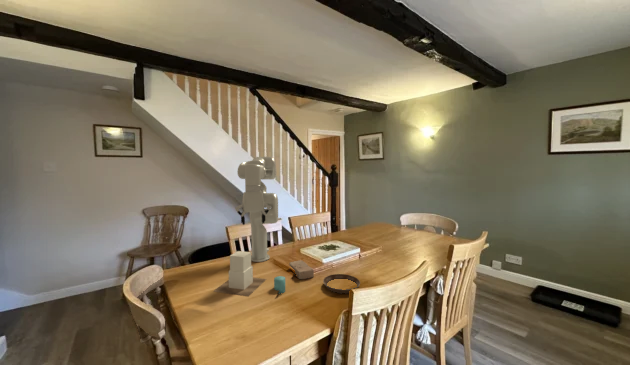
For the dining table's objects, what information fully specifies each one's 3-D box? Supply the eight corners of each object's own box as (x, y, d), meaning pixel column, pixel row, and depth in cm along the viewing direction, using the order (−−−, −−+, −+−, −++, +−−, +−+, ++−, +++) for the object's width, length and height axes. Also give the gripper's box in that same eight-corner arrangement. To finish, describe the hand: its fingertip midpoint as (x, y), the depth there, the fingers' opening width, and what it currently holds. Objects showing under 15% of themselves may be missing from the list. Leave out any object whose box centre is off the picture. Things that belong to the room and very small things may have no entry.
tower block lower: (238, 280, 128) (238, 264, 127) (252, 282, 125) (252, 266, 125) (228, 287, 120) (228, 270, 119) (244, 289, 118) (243, 272, 117)
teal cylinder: (276, 287, 123) (276, 275, 123) (287, 289, 122) (287, 276, 121) (272, 293, 118) (272, 280, 118) (282, 294, 117) (282, 281, 116)
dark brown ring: (336, 276, 137) (336, 270, 137) (366, 285, 126) (366, 279, 125) (315, 288, 123) (315, 282, 123) (347, 300, 112) (347, 293, 112)
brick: (288, 269, 146) (288, 261, 146) (302, 266, 150) (302, 258, 149) (299, 281, 131) (299, 272, 131) (314, 278, 135) (314, 269, 134)
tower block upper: (238, 265, 126) (238, 251, 126) (251, 266, 125) (250, 252, 124) (230, 270, 120) (229, 255, 119) (243, 272, 118) (243, 257, 117)
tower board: (235, 277, 134) (235, 275, 134) (266, 281, 129) (266, 279, 129) (212, 294, 116) (212, 291, 116) (248, 299, 112) (248, 296, 112)
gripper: (268, 188, 135) (268, 221, 135) (234, 189, 128) (234, 223, 128) (272, 189, 128) (272, 223, 128) (236, 190, 121) (236, 226, 121)
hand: (253, 223), depth 128 cm, fingers open, 9 cm apart
